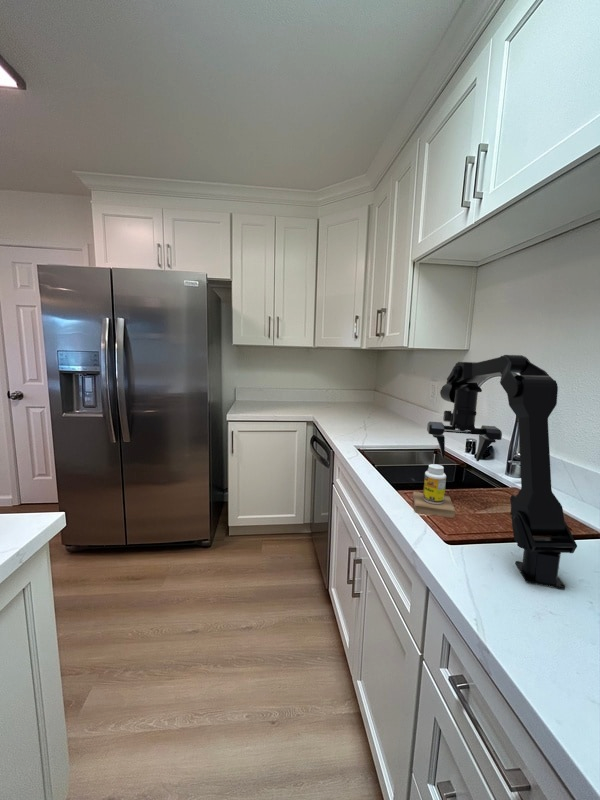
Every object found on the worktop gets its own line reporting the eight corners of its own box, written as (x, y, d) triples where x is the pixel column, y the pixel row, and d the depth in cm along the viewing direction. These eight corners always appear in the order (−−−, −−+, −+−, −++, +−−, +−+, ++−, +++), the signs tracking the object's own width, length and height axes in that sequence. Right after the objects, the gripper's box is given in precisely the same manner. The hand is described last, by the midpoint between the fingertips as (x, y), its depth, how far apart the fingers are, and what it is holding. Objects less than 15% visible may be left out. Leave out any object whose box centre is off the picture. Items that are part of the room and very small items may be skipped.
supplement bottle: (418, 497, 97) (421, 463, 95) (434, 495, 98) (437, 462, 97) (431, 506, 91) (434, 470, 90) (448, 504, 93) (451, 468, 92)
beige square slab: (454, 518, 89) (455, 511, 89) (415, 512, 92) (415, 505, 92) (448, 502, 99) (449, 496, 98) (413, 498, 101) (413, 491, 101)
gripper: (492, 404, 101) (487, 454, 103) (427, 400, 105) (423, 448, 107) (505, 410, 90) (498, 466, 92) (431, 405, 94) (427, 459, 97)
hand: (459, 459), depth 97 cm, fingers open, 9 cm apart
